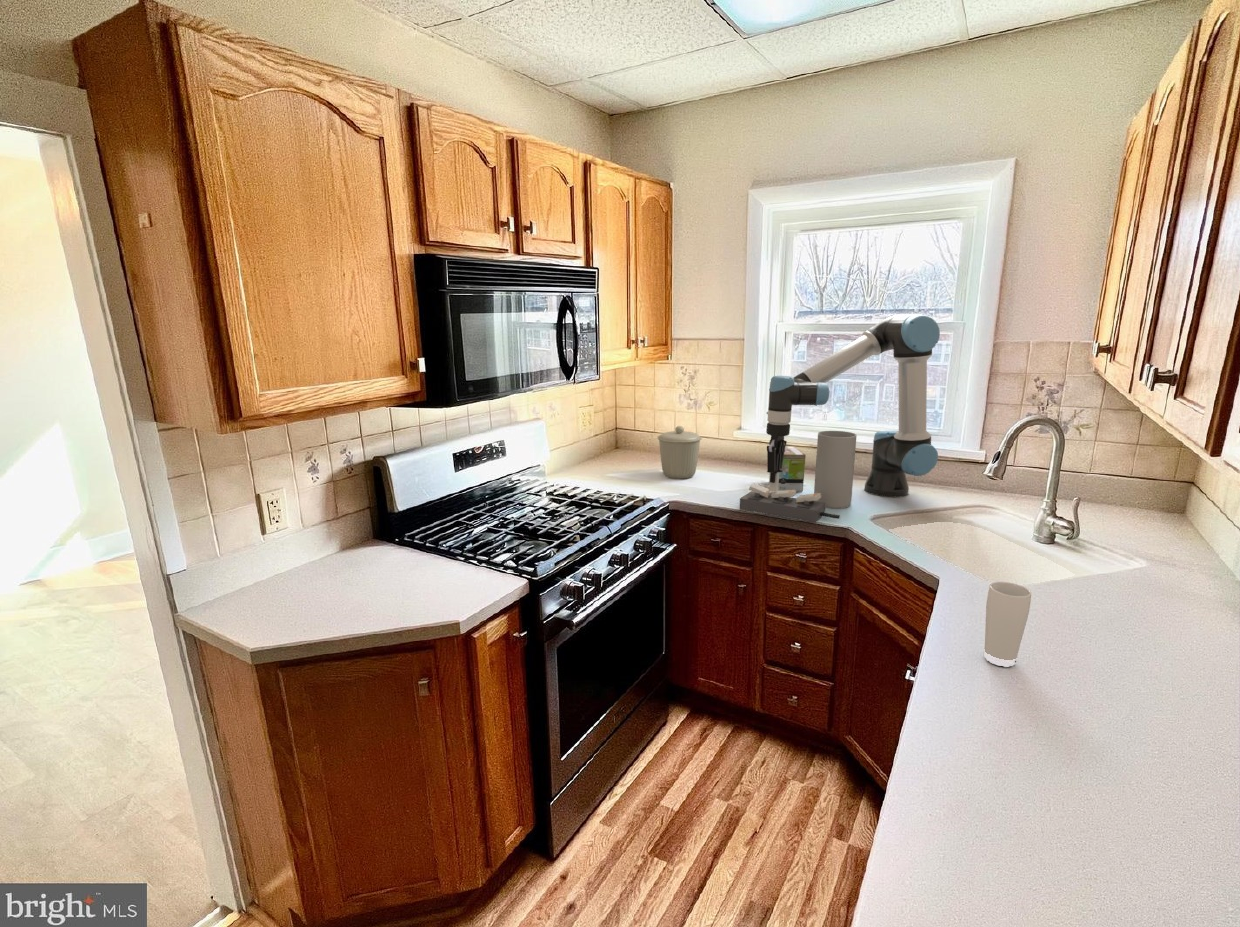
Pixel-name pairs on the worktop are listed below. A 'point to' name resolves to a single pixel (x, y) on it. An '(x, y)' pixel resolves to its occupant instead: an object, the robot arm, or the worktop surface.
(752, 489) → the rocker
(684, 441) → the canister
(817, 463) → the cylinder vase
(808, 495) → the rocker
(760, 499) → the power strip
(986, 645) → the drinking glass
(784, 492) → the rocker
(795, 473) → the tea box
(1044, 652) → the worktop surface
